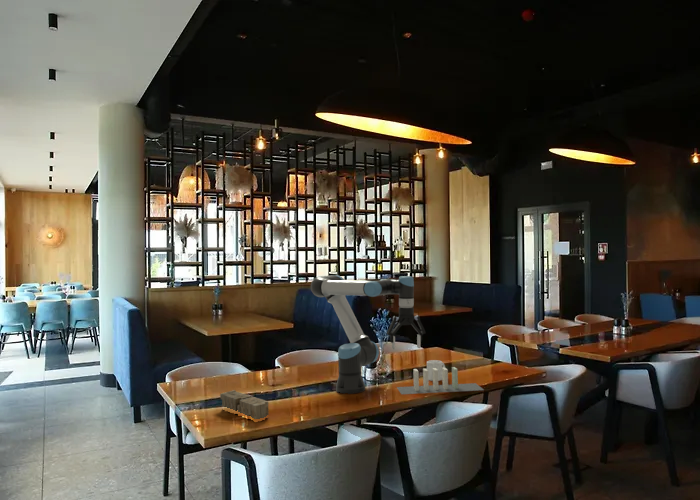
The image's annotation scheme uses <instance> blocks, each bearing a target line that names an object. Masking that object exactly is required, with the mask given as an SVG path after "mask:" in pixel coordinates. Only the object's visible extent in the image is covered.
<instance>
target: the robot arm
mask: <svg viewBox="0 0 700 500" xmlns="http://www.w3.org/2000/svg"><path fill="white" fill-rule="evenodd" d="M414 281H415V280H414V277H413V276H410V275H406V276H405V275H404V276H403V275H401V276H399V277H398V279H389V278H383V279H380V280H345V279H344V278H343V277H342V276H340V275H337V274H330V275H320V276H316V277H315V278H314V279H312V281H311V283H310V291H311V292H312V294H313V295H314V296H315V297H318V298H325V299H326V301H327V303H329V304H331V305H332V306H333V309H334V312H335V313H336V316H337V317H338V320H339V322H340V324H341V326H342V328H343V330H344V332H345V335H346V336H347V338H348V341H349V342H348V343H344V344H342V345H340V346H339V347H338V350H337V351H338V352H337V357H338V358H337V360H338V361H337V362H338V377H337V381H336V385H335V391H336V392H337V393H339V392H340V394H345V393H348V394H349V395H351V394H359V393H363V392H364V391H366V385H365V382H364V379H363V376H362V367H365V366H368V365H371V364H373V363H374V362H377V360H378V359H379V355H380V350H379V346H378V345H377V343H375V342H374V341H372V340H371V339H370V337H369V336H368V335H366V334H365V333H364V331H363V329H362V327H361V325H360V323H359V322H358V320H357V317H356V316H355V313H354V310H353V309H352V307H351V305H350V303H349V301H348V299H347V297H346V296H368V297H371V298H375V297H380V296H386V295H398V306H399V307H398V316H395V315H393V316H392V320H391V322H390V325H389V327H388V329H387V331H386V335H387V336H390V337H389V338H390V339H389V342H390V343H391V349H392V350H396V336H395V335H396V333H397V332H398V331H399V329H400V328H401V327H402V326H410V325H411V326H412V327H413V329H414V330H415V331H416V332H417V333H418V334H416V335H417V337H416V340H417V341H416V343H417V344H416V347H417V348H418V349H421V344H422V343H421V342H423V335H425V334H426V329H425V327H424V326H423V323H422V321H421V316H420V315H415V312H414V310H415V309H414V303H415V299H414V298H415V296H414V292H415V289H414V287H415V283H414ZM414 315H415V316H414ZM414 320H415V321H416V322H417V323H416V324H418V326H417V325H416V324H415V322H414ZM396 323H397V324H396ZM395 325H396V326H395ZM418 327H419V328H418Z"/></svg>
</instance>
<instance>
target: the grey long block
mask: <svg viewBox="0 0 700 500" xmlns="http://www.w3.org/2000/svg"><path fill="white" fill-rule="evenodd" d="M219 397H220V400H221V407H222V406H224V407H227V408H230V409H233V410H235V411H237V410H238V412H240V413H243V414H245V415H247V416H251V417H252V418H254V419H260V418H264V417H266V416H267V415H270V414H269V411H270V410H269V401H268V400H265V399H263V398H258V397H255V396H252V395H249V394H246V393H244V392H240V391H236V390H235V389H233V390H230V391H226V392H222V393H220V395H219Z"/></svg>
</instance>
